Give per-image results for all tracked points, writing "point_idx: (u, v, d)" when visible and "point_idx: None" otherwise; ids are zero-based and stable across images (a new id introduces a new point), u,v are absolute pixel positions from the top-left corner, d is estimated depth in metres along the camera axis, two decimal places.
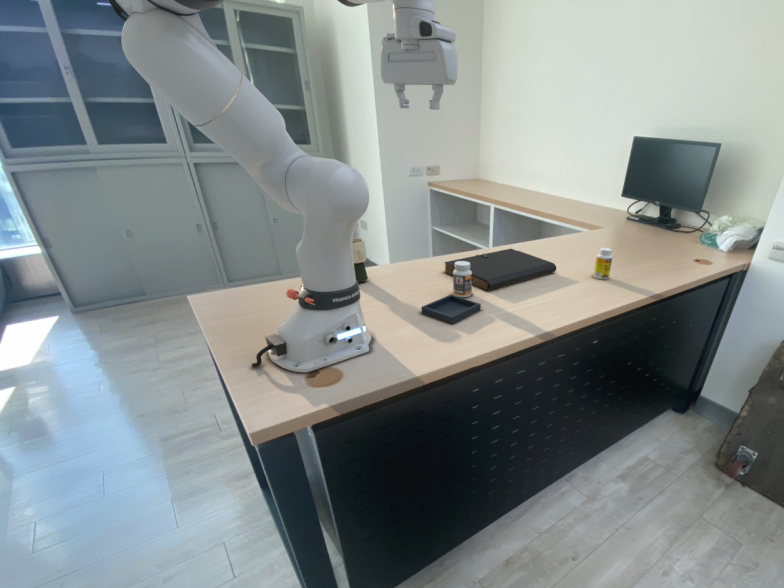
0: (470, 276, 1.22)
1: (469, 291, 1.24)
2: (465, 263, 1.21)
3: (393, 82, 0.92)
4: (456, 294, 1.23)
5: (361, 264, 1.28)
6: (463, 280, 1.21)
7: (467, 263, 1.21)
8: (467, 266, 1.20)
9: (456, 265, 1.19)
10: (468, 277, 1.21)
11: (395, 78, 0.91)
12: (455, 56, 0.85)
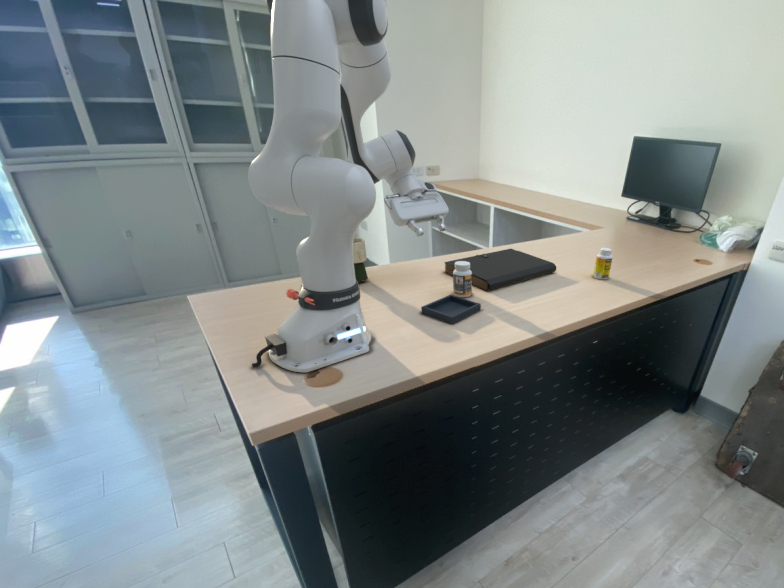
0: (470, 276, 1.22)
1: (469, 291, 1.24)
2: (465, 263, 1.21)
3: (411, 218, 1.18)
4: (456, 294, 1.23)
5: (361, 264, 1.28)
6: (463, 280, 1.21)
7: (467, 263, 1.21)
8: (467, 266, 1.20)
9: (456, 265, 1.19)
10: (468, 277, 1.21)
11: (413, 215, 1.18)
12: None
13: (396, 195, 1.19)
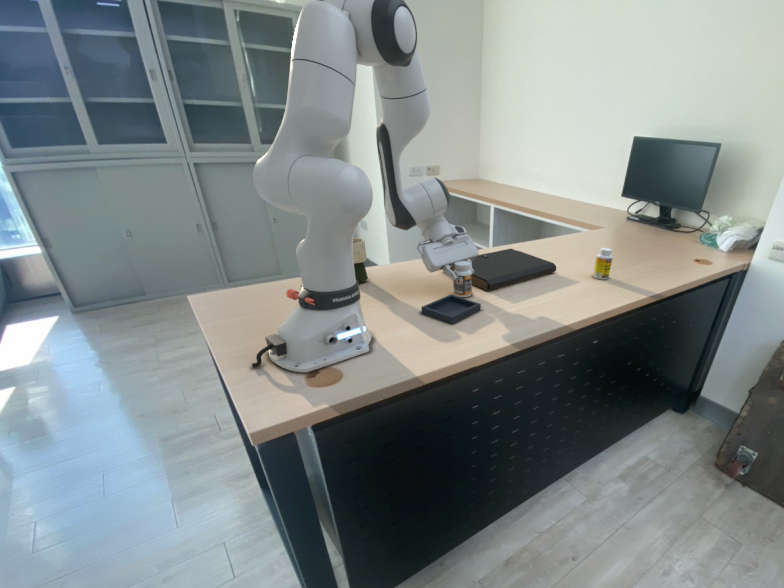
0: (470, 276, 1.22)
1: (469, 291, 1.24)
2: (465, 263, 1.21)
3: (444, 264, 1.17)
4: (456, 294, 1.23)
5: (361, 264, 1.28)
6: (463, 280, 1.21)
7: (467, 263, 1.21)
8: (467, 266, 1.20)
9: (456, 265, 1.19)
10: (468, 277, 1.21)
11: (445, 260, 1.18)
12: None
13: (428, 241, 1.18)
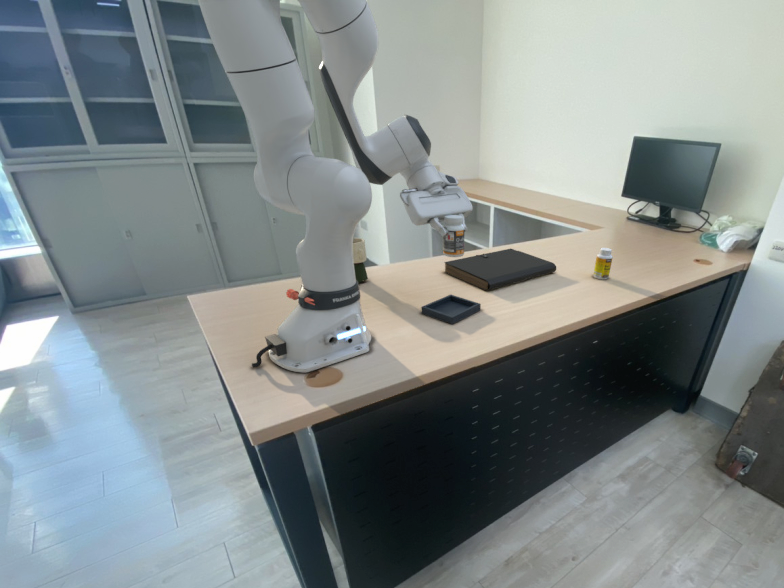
0: (462, 232, 1.05)
1: (461, 250, 1.07)
2: (457, 216, 1.04)
3: (431, 215, 1.01)
4: (446, 253, 1.07)
5: (361, 264, 1.28)
6: (454, 236, 1.04)
7: (459, 216, 1.04)
8: (459, 219, 1.03)
9: (446, 218, 1.03)
10: (460, 233, 1.05)
11: (433, 212, 1.01)
12: None
13: (413, 189, 1.02)
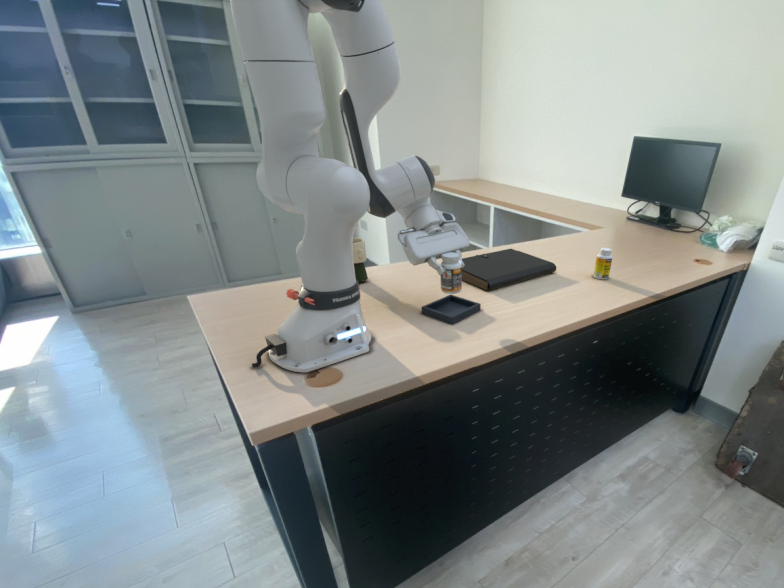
0: (459, 270, 1.07)
1: (459, 287, 1.09)
2: (454, 255, 1.06)
3: (429, 255, 1.02)
4: (444, 290, 1.09)
5: (361, 264, 1.28)
6: (451, 274, 1.06)
7: (456, 255, 1.06)
8: (456, 258, 1.05)
9: (443, 257, 1.05)
10: (457, 271, 1.06)
11: (431, 252, 1.03)
12: None
13: (411, 229, 1.03)
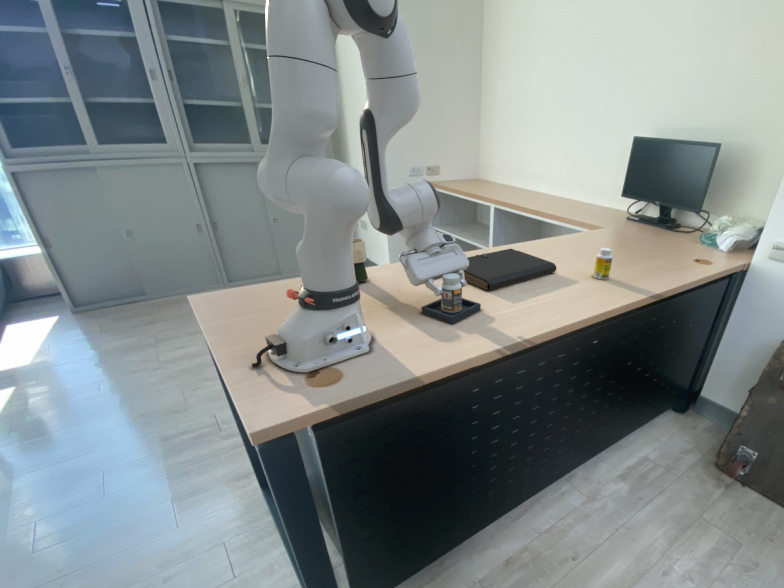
0: (460, 290, 1.10)
1: (459, 306, 1.12)
2: (454, 276, 1.09)
3: (429, 277, 1.05)
4: (444, 310, 1.12)
5: (361, 264, 1.28)
6: (452, 294, 1.09)
7: (456, 276, 1.09)
8: (456, 279, 1.08)
9: (444, 278, 1.08)
10: (457, 291, 1.09)
11: (431, 273, 1.06)
12: None
13: (412, 251, 1.06)
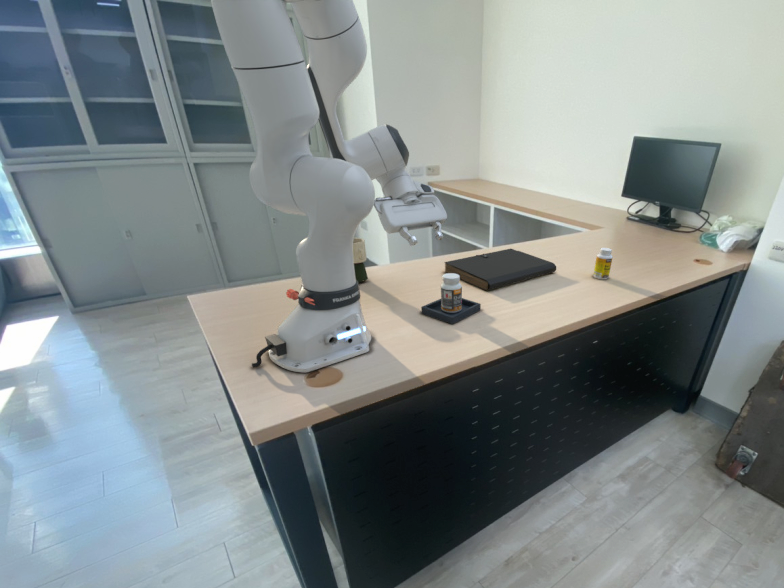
0: (460, 290, 1.10)
1: (459, 306, 1.12)
2: (454, 276, 1.09)
3: (404, 224, 1.04)
4: (444, 310, 1.12)
5: (361, 264, 1.28)
6: (452, 294, 1.09)
7: (456, 276, 1.09)
8: (456, 279, 1.08)
9: (444, 278, 1.08)
10: (457, 291, 1.09)
11: (406, 221, 1.04)
12: None
13: (387, 198, 1.04)
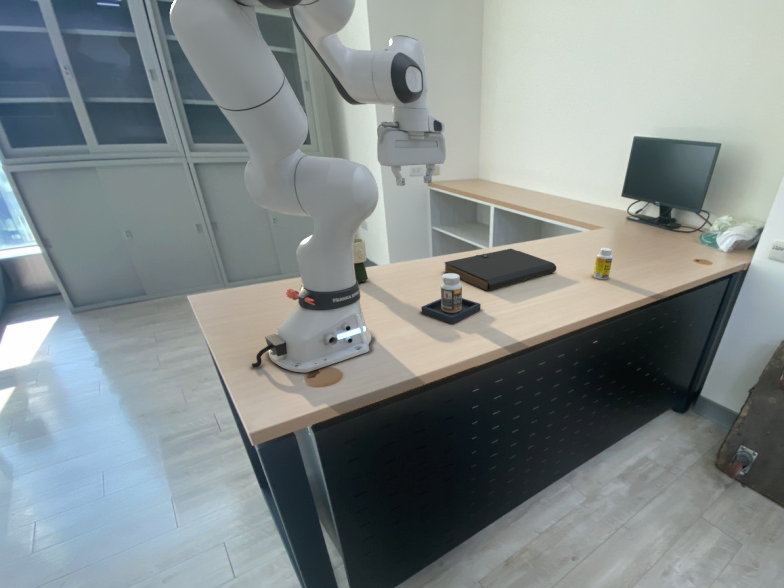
0: (460, 290, 1.10)
1: (459, 306, 1.12)
2: (454, 276, 1.09)
3: (399, 165, 0.99)
4: (444, 310, 1.12)
5: (361, 264, 1.28)
6: (452, 294, 1.09)
7: (456, 276, 1.09)
8: (456, 279, 1.08)
9: (444, 278, 1.08)
10: (457, 291, 1.09)
11: (403, 161, 1.00)
12: None
13: (394, 125, 0.96)
